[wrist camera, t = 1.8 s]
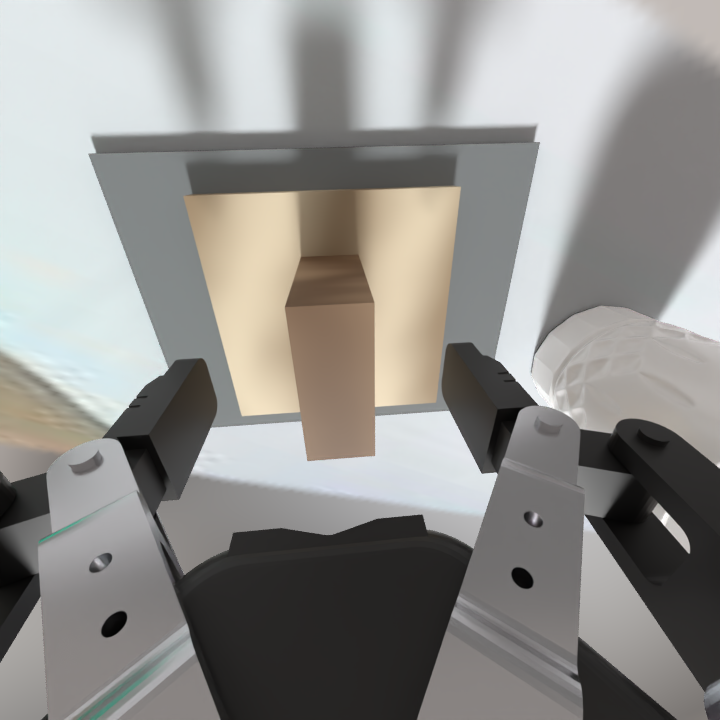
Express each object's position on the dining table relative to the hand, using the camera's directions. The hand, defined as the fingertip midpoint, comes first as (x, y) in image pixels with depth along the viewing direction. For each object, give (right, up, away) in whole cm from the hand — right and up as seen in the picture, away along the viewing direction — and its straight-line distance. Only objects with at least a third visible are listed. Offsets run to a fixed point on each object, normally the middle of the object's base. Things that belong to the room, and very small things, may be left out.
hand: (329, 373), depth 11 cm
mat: (0, +3, +6) cm, 7 cm away
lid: (0, +3, +6) cm, 6 cm away
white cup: (+15, +1, +9) cm, 17 cm away
